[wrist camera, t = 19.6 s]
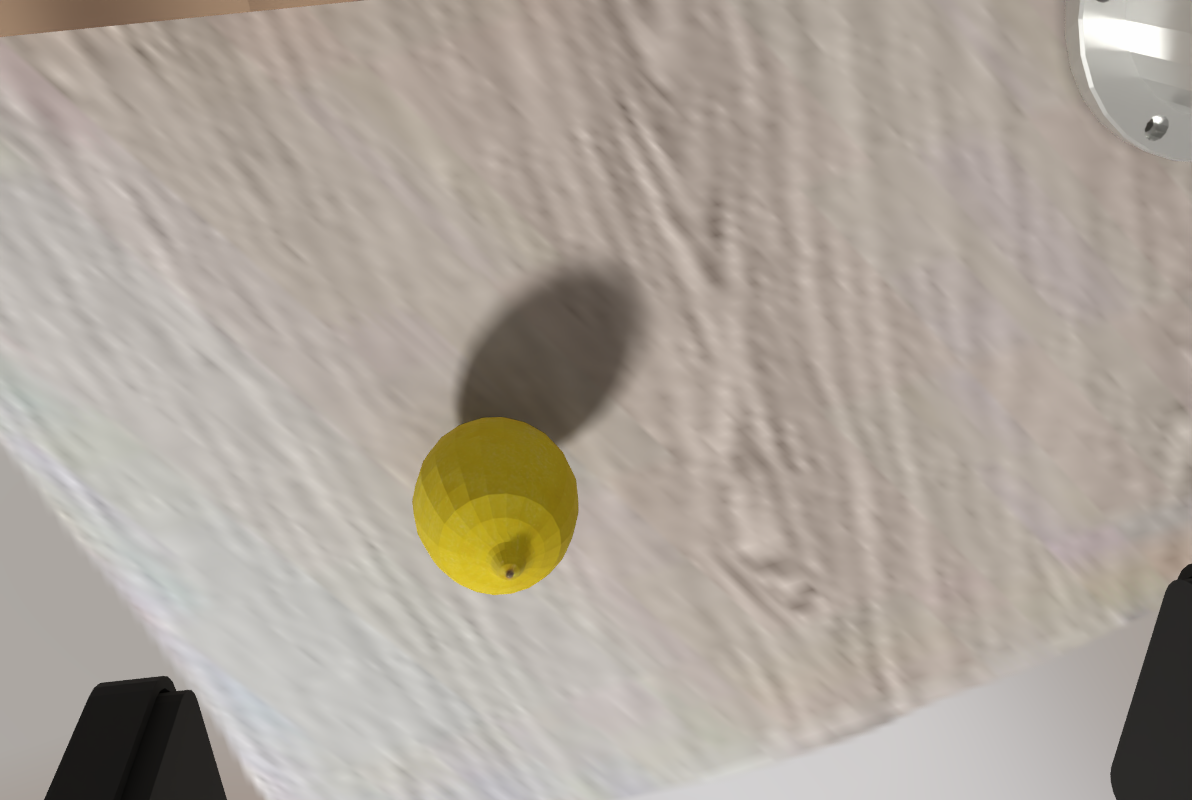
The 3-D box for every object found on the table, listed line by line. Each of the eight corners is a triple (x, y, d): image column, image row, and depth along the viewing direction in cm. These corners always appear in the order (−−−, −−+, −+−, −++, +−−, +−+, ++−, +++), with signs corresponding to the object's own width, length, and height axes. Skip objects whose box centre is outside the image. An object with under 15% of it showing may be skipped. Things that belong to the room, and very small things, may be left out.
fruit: (431, 364, 35) (436, 485, 28) (580, 394, 37) (620, 515, 30) (399, 494, 37) (396, 636, 31) (540, 517, 39) (568, 657, 32)
